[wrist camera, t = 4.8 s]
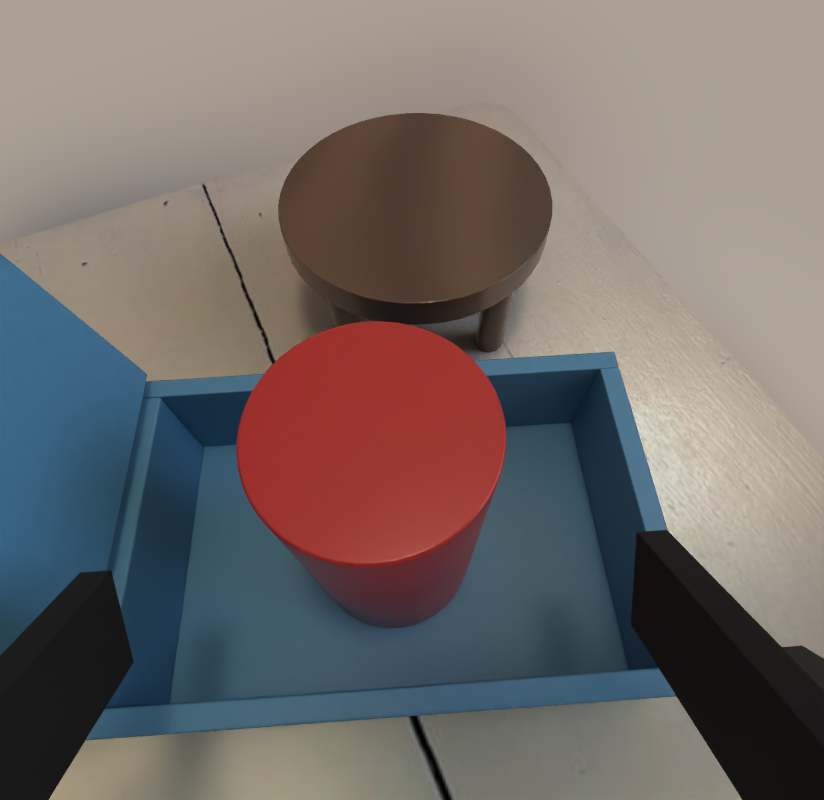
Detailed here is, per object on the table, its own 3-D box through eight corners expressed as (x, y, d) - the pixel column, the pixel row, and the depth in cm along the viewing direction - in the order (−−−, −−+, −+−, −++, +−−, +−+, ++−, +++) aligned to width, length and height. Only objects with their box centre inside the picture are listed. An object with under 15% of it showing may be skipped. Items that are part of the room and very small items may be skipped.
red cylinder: (460, 472, 25) (487, 312, 15) (477, 622, 22) (528, 555, 11) (320, 481, 25) (247, 327, 15) (317, 634, 22) (221, 577, 11)
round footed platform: (508, 209, 35) (527, 106, 29) (545, 379, 28) (579, 293, 22) (309, 221, 35) (285, 119, 28) (302, 395, 28) (269, 312, 22)
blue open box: (578, 414, 27) (614, 351, 22) (647, 693, 21) (717, 693, 16) (196, 439, 27) (144, 381, 22) (154, 730, 21) (68, 741, 16)
